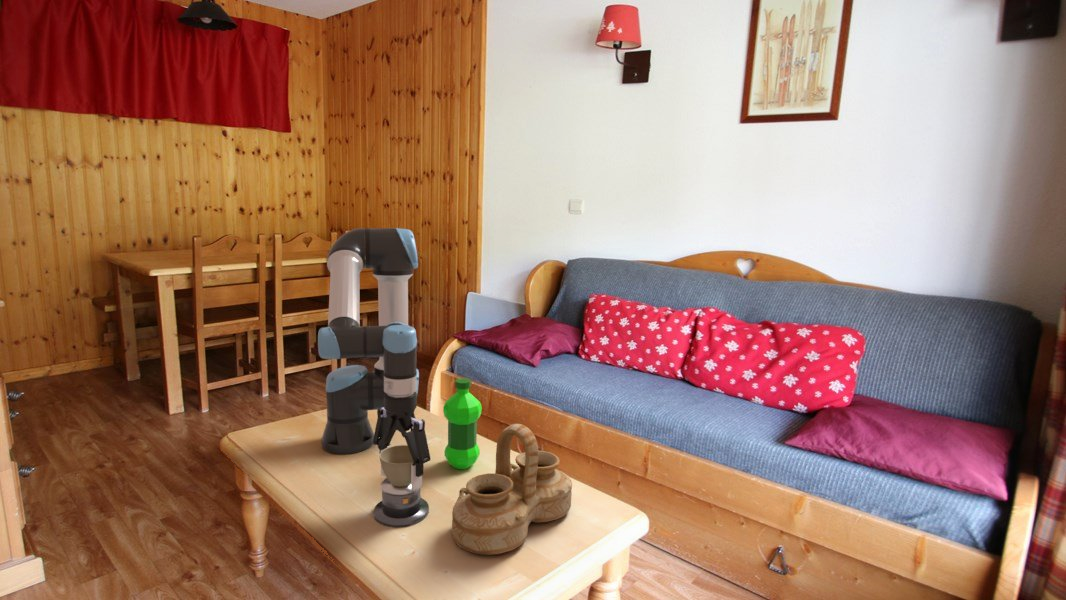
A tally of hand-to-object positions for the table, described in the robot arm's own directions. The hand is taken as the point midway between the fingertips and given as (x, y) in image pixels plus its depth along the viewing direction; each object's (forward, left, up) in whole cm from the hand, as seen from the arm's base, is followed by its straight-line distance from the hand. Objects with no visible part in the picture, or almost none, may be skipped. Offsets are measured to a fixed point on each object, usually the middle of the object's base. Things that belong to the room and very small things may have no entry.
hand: (401, 480), depth 147 cm
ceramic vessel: (+13, +24, -9) cm, 29 cm away
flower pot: (0, 0, -1) cm, 1 cm away
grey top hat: (0, 0, -8) cm, 8 cm away
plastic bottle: (-19, +21, -8) cm, 30 cm away
